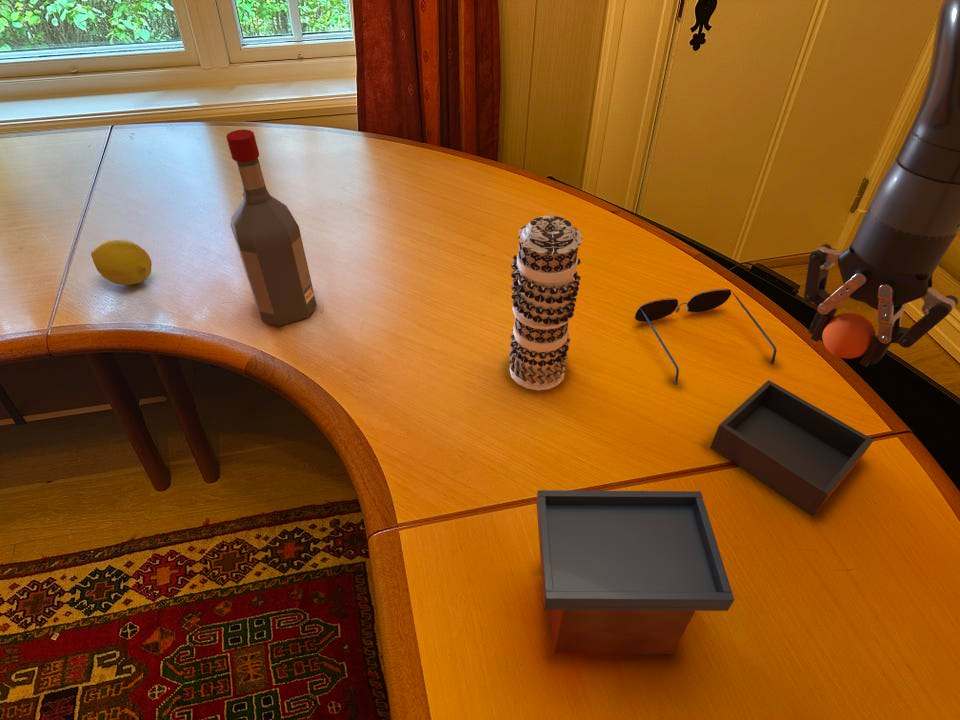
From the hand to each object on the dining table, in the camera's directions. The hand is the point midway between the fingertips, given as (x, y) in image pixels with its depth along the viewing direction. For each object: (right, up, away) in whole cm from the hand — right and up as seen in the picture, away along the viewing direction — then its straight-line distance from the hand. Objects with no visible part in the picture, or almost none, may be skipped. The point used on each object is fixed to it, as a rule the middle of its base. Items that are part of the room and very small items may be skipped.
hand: (841, 349), depth 67 cm
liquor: (-73, +7, +36) cm, 82 cm away
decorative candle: (-32, -3, +25) cm, 40 cm away
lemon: (-103, +13, +42) cm, 112 cm away
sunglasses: (-5, +1, +29) cm, 30 cm away
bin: (0, -14, +13) cm, 19 cm away
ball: (0, +1, -1) cm, 2 cm away
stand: (-27, -28, -3) cm, 39 cm away
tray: (-27, -19, -11) cm, 35 cm away
